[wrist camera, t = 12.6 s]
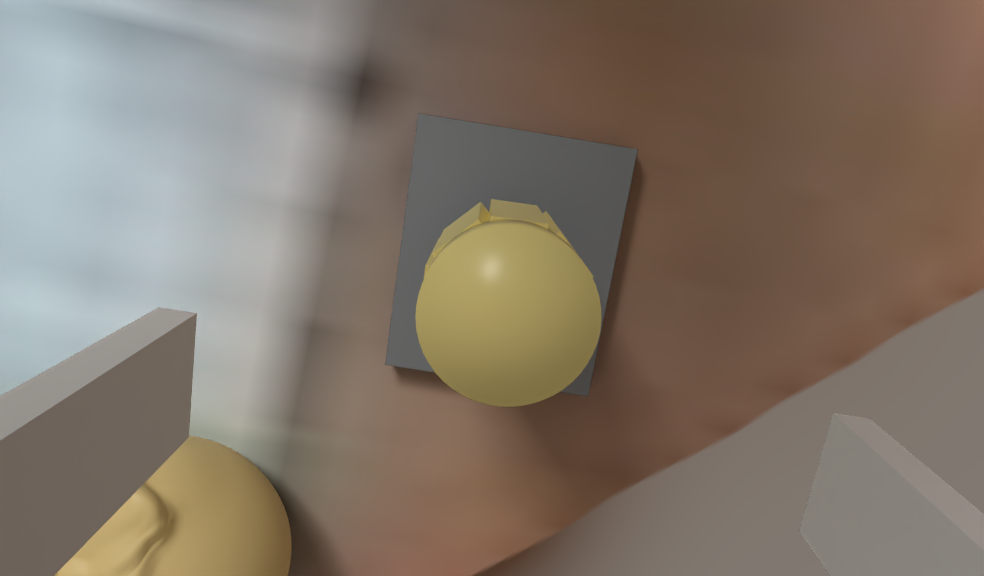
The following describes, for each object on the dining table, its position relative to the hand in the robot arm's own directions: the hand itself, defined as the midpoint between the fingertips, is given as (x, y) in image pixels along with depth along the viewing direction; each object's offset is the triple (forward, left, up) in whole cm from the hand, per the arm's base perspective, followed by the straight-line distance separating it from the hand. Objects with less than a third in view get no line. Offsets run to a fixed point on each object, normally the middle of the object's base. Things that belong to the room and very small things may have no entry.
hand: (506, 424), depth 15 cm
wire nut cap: (0, 0, -17) cm, 17 cm away
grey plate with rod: (0, 0, -21) cm, 21 cm away
